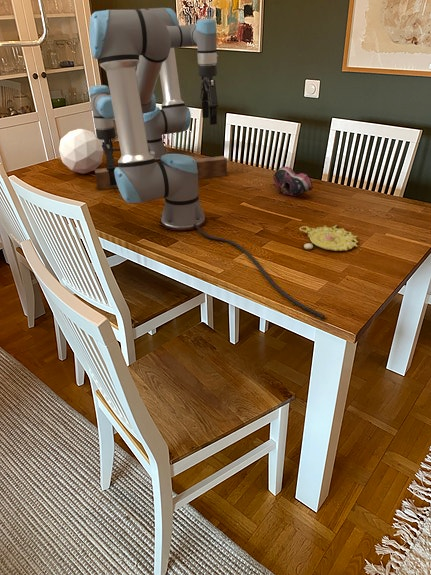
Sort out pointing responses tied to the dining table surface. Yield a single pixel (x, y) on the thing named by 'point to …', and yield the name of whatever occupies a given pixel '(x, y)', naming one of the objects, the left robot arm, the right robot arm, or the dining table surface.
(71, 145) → the sphere
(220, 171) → the bar
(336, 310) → the dining table surface
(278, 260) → the dining table surface
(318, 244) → the decorative object
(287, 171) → the athletic shoe
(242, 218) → the dining table surface
